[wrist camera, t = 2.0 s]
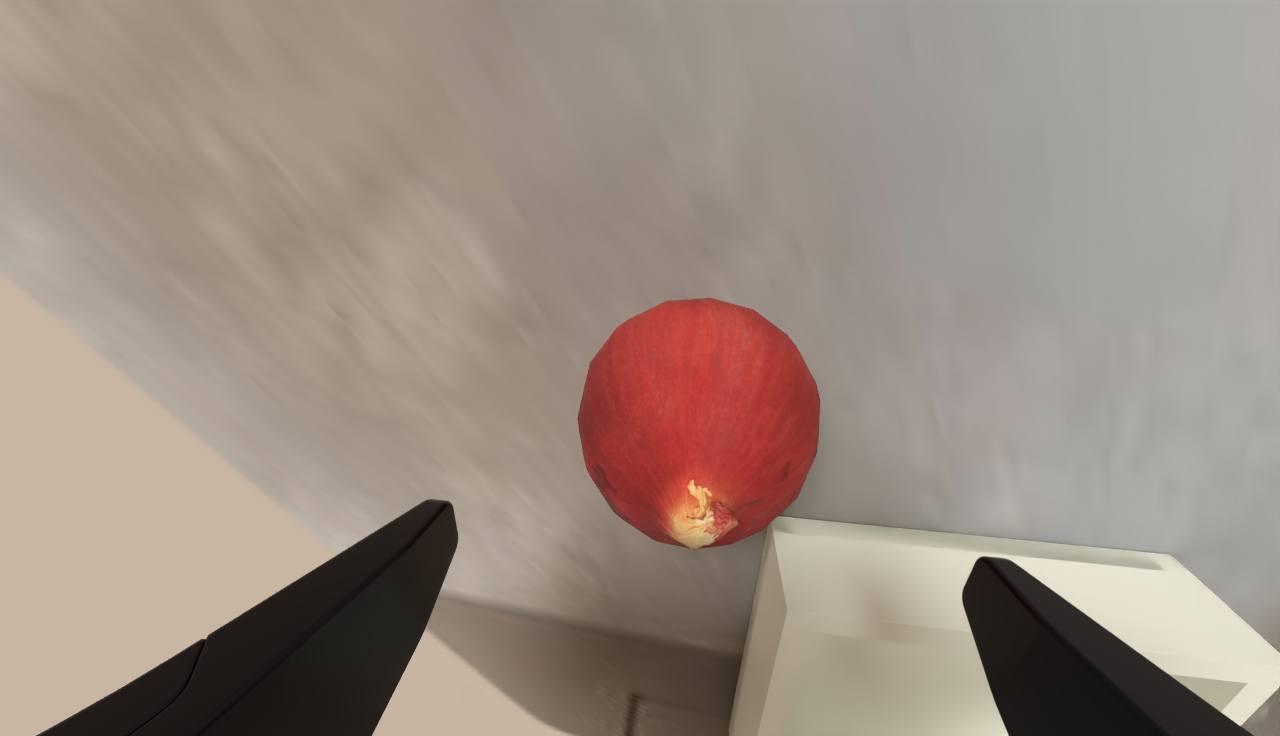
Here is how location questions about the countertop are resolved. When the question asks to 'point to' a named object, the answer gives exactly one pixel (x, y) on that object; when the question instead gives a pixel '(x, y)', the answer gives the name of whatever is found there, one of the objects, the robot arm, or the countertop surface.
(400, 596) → the robot arm
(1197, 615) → the bin
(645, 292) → the countertop surface
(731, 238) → the countertop surface
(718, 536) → the onion
